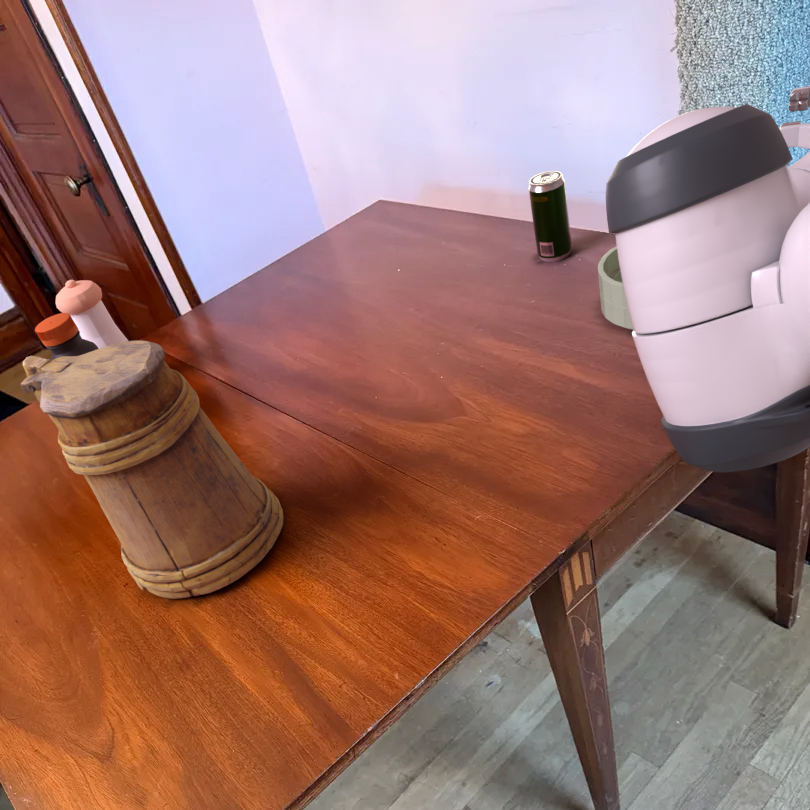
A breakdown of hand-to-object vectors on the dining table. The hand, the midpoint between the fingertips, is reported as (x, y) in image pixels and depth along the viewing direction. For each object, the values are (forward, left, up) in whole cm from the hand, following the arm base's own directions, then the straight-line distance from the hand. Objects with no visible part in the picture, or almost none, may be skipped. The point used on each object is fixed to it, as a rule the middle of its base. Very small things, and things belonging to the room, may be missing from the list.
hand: (784, 117), depth 74 cm
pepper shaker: (+73, +62, -24) cm, 98 cm away
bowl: (+16, +1, -24) cm, 29 cm away
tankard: (+26, +69, -24) cm, 77 cm away
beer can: (+41, -3, -24) cm, 48 cm away
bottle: (+57, +68, -24) cm, 92 cm away
